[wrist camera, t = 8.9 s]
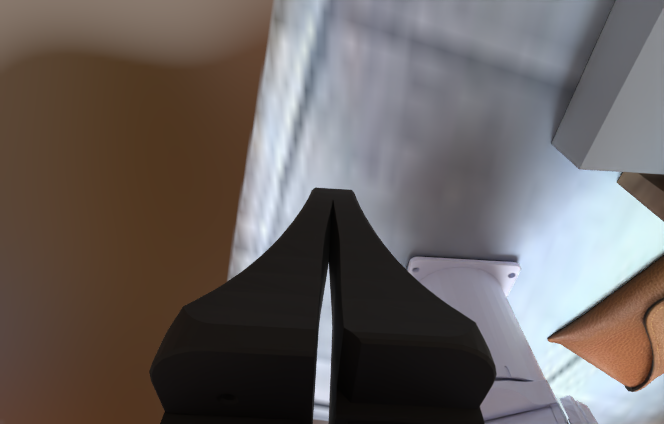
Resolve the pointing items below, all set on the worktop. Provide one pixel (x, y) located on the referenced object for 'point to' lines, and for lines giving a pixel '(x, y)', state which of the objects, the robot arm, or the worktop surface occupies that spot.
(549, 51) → the worktop surface
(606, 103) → the flat grey cuboid
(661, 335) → the sunglasses case
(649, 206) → the overhang bridge
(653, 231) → the worktop surface
